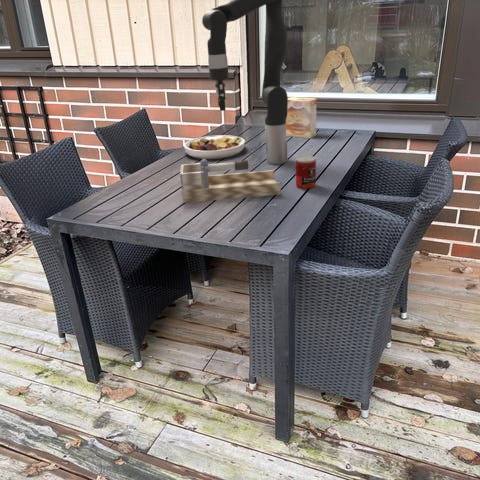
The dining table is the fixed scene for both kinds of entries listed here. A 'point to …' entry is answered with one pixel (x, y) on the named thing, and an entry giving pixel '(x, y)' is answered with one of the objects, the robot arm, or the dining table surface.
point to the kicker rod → (222, 168)
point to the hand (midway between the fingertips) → (222, 108)
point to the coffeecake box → (301, 117)
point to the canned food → (305, 172)
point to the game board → (225, 184)
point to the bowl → (214, 146)
